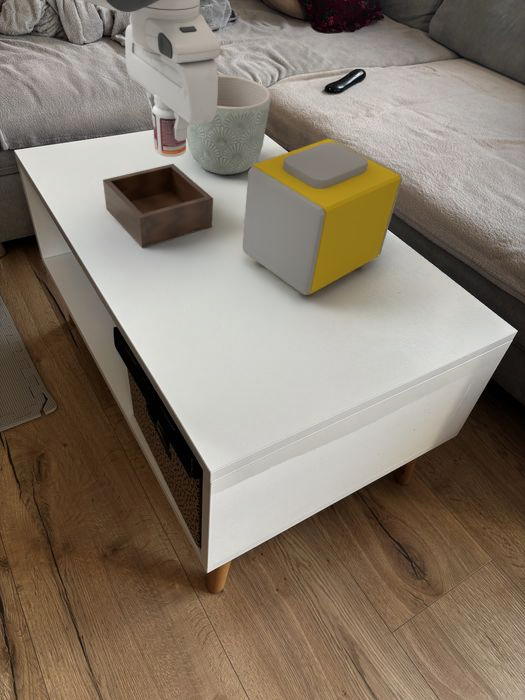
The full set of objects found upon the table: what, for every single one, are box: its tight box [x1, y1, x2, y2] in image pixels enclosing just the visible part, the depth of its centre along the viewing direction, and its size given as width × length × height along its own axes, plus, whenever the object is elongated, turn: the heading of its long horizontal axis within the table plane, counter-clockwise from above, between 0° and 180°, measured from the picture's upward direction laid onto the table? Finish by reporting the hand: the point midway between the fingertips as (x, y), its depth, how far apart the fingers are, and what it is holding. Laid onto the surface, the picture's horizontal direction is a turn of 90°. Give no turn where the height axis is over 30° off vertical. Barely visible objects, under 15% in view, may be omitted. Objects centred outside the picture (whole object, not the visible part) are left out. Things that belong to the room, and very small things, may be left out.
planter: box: [186, 74, 272, 175], centre depth 111 cm, size 17×17×15 cm
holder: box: [102, 163, 214, 249], centre depth 97 cm, size 14×14×6 cm
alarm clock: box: [242, 137, 403, 296], centre depth 88 cm, size 20×16×18 cm
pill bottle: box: [151, 94, 187, 158], centre depth 80 cm, size 5×5×8 cm
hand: (169, 130), depth 81 cm, fingers closed on pill bottle, 5 cm apart
